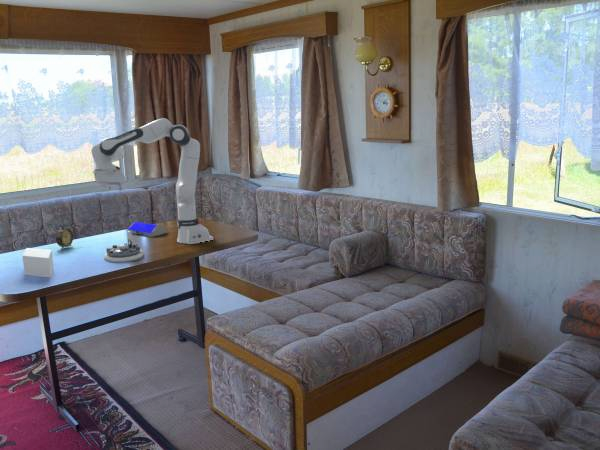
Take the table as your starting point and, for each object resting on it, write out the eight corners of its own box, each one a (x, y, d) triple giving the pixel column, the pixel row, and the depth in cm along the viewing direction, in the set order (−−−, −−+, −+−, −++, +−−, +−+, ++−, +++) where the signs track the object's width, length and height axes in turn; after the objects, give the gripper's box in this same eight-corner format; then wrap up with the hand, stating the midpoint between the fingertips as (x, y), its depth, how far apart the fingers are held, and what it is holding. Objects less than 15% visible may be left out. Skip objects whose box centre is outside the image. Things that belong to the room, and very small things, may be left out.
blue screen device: (166, 233, 363) (166, 222, 361) (151, 238, 351) (150, 226, 349) (143, 229, 374) (142, 219, 372) (127, 234, 362) (126, 223, 360)
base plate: (141, 250, 320) (140, 239, 319) (145, 259, 301) (144, 248, 299) (103, 254, 313) (102, 243, 311) (104, 263, 294) (103, 252, 292)
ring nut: (138, 247, 318) (137, 229, 315) (141, 255, 301) (140, 235, 299) (106, 250, 311) (104, 232, 309) (107, 258, 295) (105, 239, 293)
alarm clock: (63, 250, 321) (60, 224, 317) (55, 250, 322) (52, 223, 318) (74, 246, 331) (71, 220, 328) (66, 245, 332) (63, 219, 329)
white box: (35, 281, 267) (33, 261, 264) (14, 269, 287) (12, 250, 284) (65, 274, 277) (63, 255, 275) (42, 263, 297) (40, 245, 294)
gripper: (95, 166, 310) (104, 187, 308) (122, 167, 329) (131, 187, 326) (89, 171, 313) (97, 192, 311) (116, 173, 331) (124, 192, 329)
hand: (115, 190), depth 319 cm, fingers open, 8 cm apart
